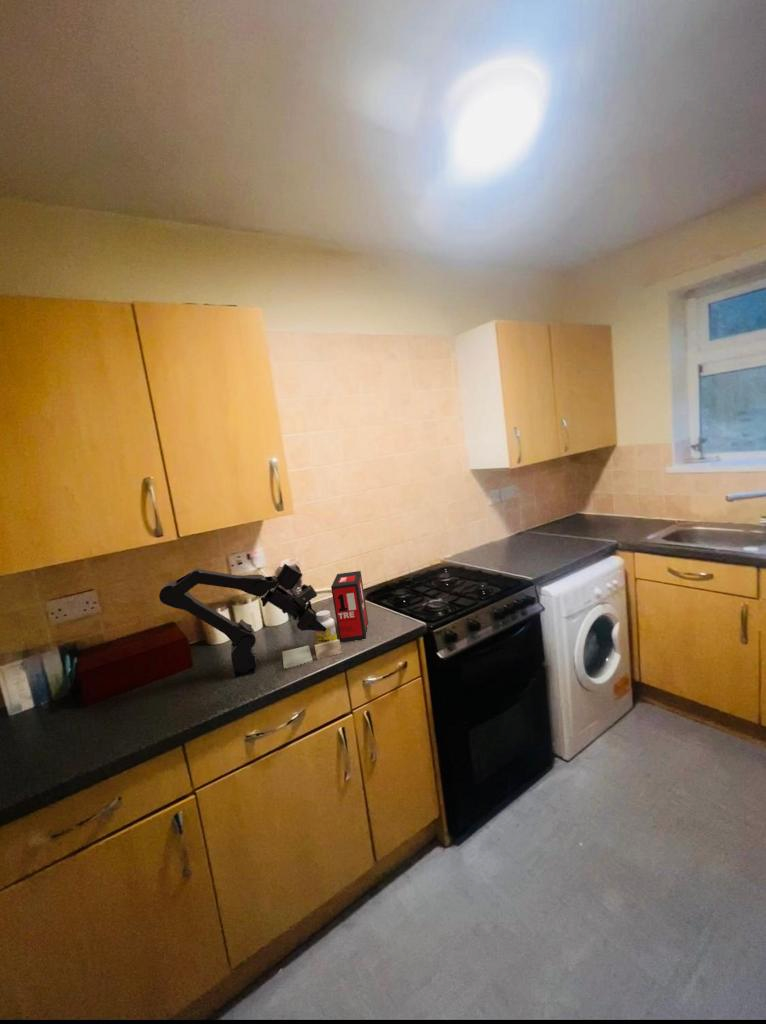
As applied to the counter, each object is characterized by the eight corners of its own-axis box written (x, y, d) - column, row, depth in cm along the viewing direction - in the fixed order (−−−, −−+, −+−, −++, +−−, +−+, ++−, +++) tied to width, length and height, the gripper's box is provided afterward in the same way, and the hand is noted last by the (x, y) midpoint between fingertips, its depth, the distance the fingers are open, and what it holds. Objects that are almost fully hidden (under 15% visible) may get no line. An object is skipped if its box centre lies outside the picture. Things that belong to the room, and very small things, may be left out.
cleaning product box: (345, 624, 168) (337, 573, 165) (368, 621, 167) (360, 570, 165) (340, 642, 151) (331, 586, 149) (365, 639, 151) (357, 583, 149)
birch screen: (317, 659, 140) (315, 646, 140) (316, 658, 142) (314, 645, 141) (341, 653, 142) (339, 640, 142) (341, 652, 144) (339, 639, 143)
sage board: (284, 669, 137) (283, 666, 137) (282, 653, 149) (282, 651, 149) (312, 661, 139) (312, 659, 139) (309, 647, 151) (308, 645, 151)
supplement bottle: (314, 653, 146) (308, 616, 144) (326, 644, 152) (320, 608, 150) (331, 654, 143) (325, 617, 141) (342, 645, 148) (336, 609, 147)
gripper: (301, 587, 134) (342, 613, 138) (297, 573, 152) (333, 597, 156) (279, 618, 133) (322, 643, 137) (278, 600, 151) (315, 624, 155)
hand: (324, 625), depth 146 cm, fingers open, 9 cm apart
